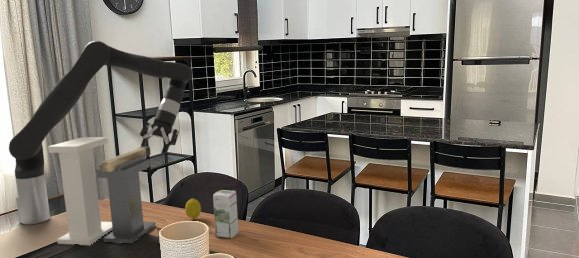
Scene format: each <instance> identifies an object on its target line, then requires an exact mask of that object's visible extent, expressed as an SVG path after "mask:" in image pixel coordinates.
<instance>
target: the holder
mask: <svg viewBox="0 0 579 258" xmlns="http://www.w3.org/2000/svg"><path fill="white" fill-rule="evenodd" d="M150 167H151V160H150V158H149V159H147V158H146V157H145V155H141V156H139V157H137V158H134V159H132V160H129V161H127V162H125V163H122V164H120V165H117V170H114V171H112V172H102V165H101V164H100V165H99V168H98V169H95V174H96V179H106V181H107V189H108V190H107V191H108V198H109V200H108V201H109V209H110V217H111V218H110V219H111V222H112V228H113V231H112V232H110V233H109V234H107V235H106V236H104V237H103V238H102V239H103V243H104V242H122V243H132V242H134V241H135V240H136V239H138V238H139V237H140V236H142V235H143V234H145V233H146V234H147V233H149V232H150V231H151V230H153V229H154V228H155V227H156V222H155V221H144V215H143V205H142V203H143V202H142V195H141V194H142V193H141V182H140V172H141V171H144V170H147V169H148V168H150ZM146 234H145V235H146ZM143 236H144V235H143ZM143 236H142V237H143ZM139 239H140V238H139ZM139 239H138V240H139ZM134 243H135V242H134Z"/></svg>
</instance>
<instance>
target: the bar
mask: <svg viewBox="0 0 579 258" xmlns="http://www.w3.org/2000/svg"><path fill="white" fill-rule="evenodd" d="M151 154H152V153H151V146H146V147H141V146H140V147H137V148H135V149H133V150H129V151H127V152H125V153H121V154H120V155H117V156H114V157H112V158H109V159H105V160H104V161H101V162H100V163H101V164H100V165H102V172H112V171H114V170H117V165H120V164H122V163H125V162H127V161H129V160H132V159H134V158H137V157H139V156H141V155H145V158H146V157H149V156H151Z"/></svg>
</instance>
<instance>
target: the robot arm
mask: <svg viewBox="0 0 579 258" xmlns="http://www.w3.org/2000/svg"><path fill="white" fill-rule="evenodd" d="M104 66H108V67H109V66H110V67H117V68H122V69H126V70H129V71H132V72H135V73H138V74H142V75H144V76H145V75H146V76H148V77H152V78H157V79H165V78H166V79H169V81H168V84H167V88H166V89H165V92H164V95H163V97H162V100H161V101H160V104H159V105H158V108H157V111H156V114H155V116H154V119H153V123H150V122H148V121H145V122H144V124H143V126H142V128H141V131H140V132H139V136H140V137H142V141H141V144H140V147H148V144H149V140H150V139H151V138H154V137H156V138H158V137H159V138H161V139H163V141H164V144H163V147H162V149H161V154H162V155H166V154H168V151H169V149H170V146H176V143H177V141H178V138H179V134H180V131H179V130H178V129H177V128H174V129H173V127H174V125H175V121H176V119H177V117H178V114H179V111H180V107H181V103H182V101H183V97H184V91H185V88H186V86H187V83H188V82H189V81H190V80H191V78H192V77H193V76H192V75H193V71H192V69H191V67H190V66H188V65H187V64H184V63H182V62H181V63H179V62H174V61H164V60H161V59H158V58H155V57H150V56H146V55H142V54H141V55H140V54H134V53H130V52H127V51H122V50H119V49H117V48H115V47H112V46H110V45H108V44H106V42H104V41H101V40H92V41H89V42H88V43H87V44H86V45H85V47H84V48H83V50H82V51H81V54H80V55H79V57H78V58H77V60H76V61H75V63H74V64H73V66H72V67H71V68H70V69H69V70H68V71H67V73H65V75H63V76H62V77H61V78H60V79H59V80H58V81H57V82H56V84H55V85H54V86H52V88H51V89H50V91H49V92H48V93H47V95H46V96H45V98H44V99H43V100H42V102H41V103H40V104H39V106H38V107H37V110H36V111H35V113H34V114H33V115H32V118H31V119H30V120H29V121H28V122H27V123H26V125H25V126H23V128H22V129H20V131H19V132H18V133H16V135H15V136H13V138H11V139H10V141H9V144H8V151H9V154H10V155H11V156H12V158H14V159H15V168H14V175H15V176H14V177H15V183H16V189H17V190H16V192H17V196H16V198H15V201H16V207H17V216H18V222H19V223H21V224H22V225H28V226H29V225H38V224H40V223H44V222H47V221H48V220H50V219H51V214H50V205H49V200H48V197H49V196H48V191H47V184H46V176H45V175H46V174H45V155H44V147H43V142H44V140H45V138H46V137H47V136H48V134H49V133H50V132H51V130H53V129H54V128H55V126H57V125H58V124H59V123H60V122H61V121H62V120H63V119H64V118H65V117H66V116H67V115H68V114H69V113H70V111H71V110H72V109H73V107H75V105H77V102H78V101H79V100H80V98H81V97H82V95H83V93H84V92H85V90H86V88H87V86H88V84H89V83H90V82H91V80H92V78H93V77H95V75H96V74H97V73H98V72H99V71H100V70H101V69H102V68H103V67H104ZM149 129H150V130H149ZM170 134H172V135H171V138H170Z"/></svg>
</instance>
